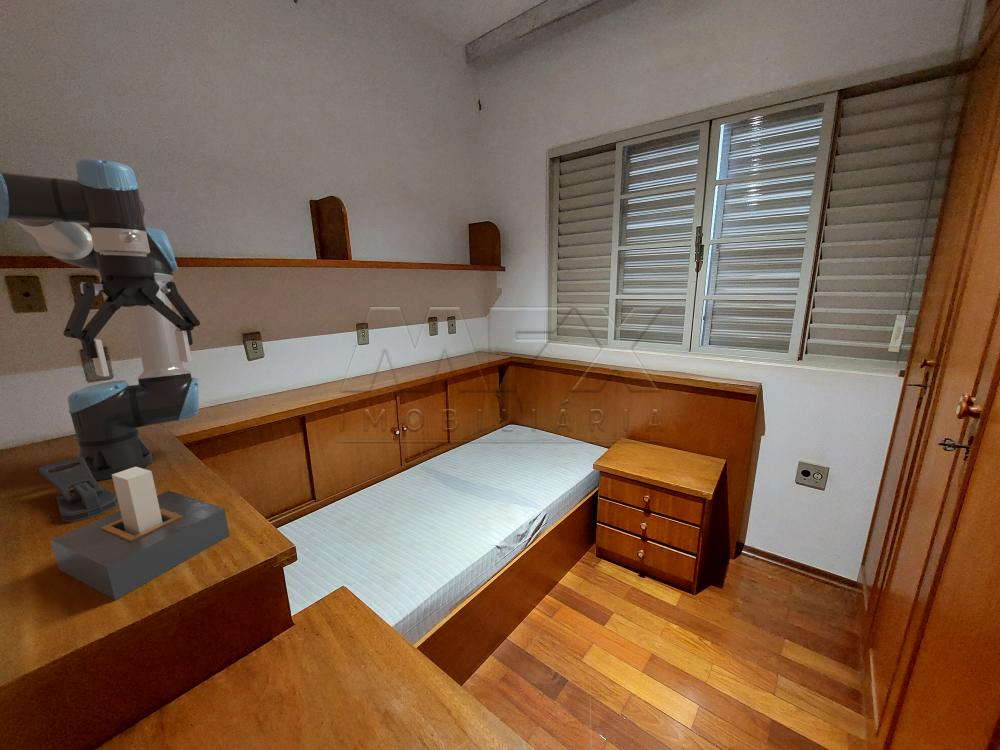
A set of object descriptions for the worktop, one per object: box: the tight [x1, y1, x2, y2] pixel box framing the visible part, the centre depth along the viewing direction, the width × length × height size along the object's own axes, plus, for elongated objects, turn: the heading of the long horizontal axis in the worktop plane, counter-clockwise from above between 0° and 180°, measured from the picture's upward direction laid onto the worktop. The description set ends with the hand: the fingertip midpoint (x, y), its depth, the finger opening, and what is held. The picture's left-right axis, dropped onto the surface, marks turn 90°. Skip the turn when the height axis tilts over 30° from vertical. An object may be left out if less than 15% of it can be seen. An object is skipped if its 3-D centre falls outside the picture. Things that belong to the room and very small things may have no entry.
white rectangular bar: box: [111, 467, 163, 536], centre depth 73 cm, size 5×4×16 cm
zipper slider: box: [37, 457, 119, 524], centre depth 92 cm, size 9×7×25 cm
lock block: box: [50, 490, 230, 601], centre depth 74 cm, size 18×18×6 cm
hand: (147, 368), depth 78 cm, fingers open, 13 cm apart
